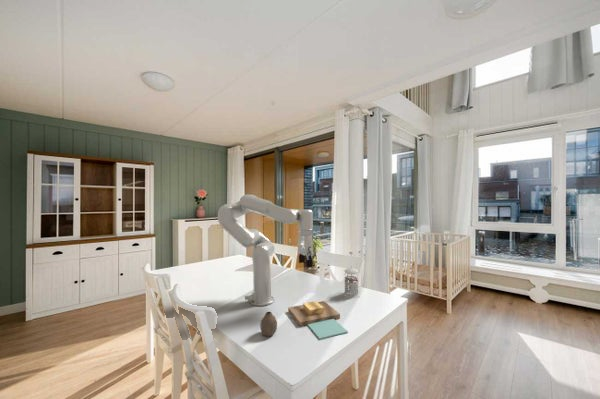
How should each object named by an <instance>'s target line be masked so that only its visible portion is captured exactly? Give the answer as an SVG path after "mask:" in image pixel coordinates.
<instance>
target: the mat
mask: <svg viewBox="0 0 600 399" xmlns="http://www.w3.org/2000/svg"><path fill="white" fill-rule="evenodd" d="M307 327H308V328H309V330H311V331H312V332H313V334H314V335H315V336H316V337H317V338H318V340H319V341H321V340H323V339H329V338H331V337H336V336H340V335H344V334H348V333H349V332H348V330H347V329H346V328H345V327H344V326H342V325H341V324H340V322H338V321H337V319H329V320H324V321H319V322H315V323H310V324H308V325H307Z"/></svg>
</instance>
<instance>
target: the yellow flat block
mask: <svg viewBox="0 0 600 399" xmlns="http://www.w3.org/2000/svg"><path fill="white" fill-rule="evenodd" d="M318 302H319V301H317V300H315V301H310V302H304V303H303V304H302V305H303V309H304V310H305V311H306V312H307V313H308V314H309V315H310V316H311V315H316V314H321V313H324V308H323V307H322V306H321V305H320V304H319V303H318Z"/></svg>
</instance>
